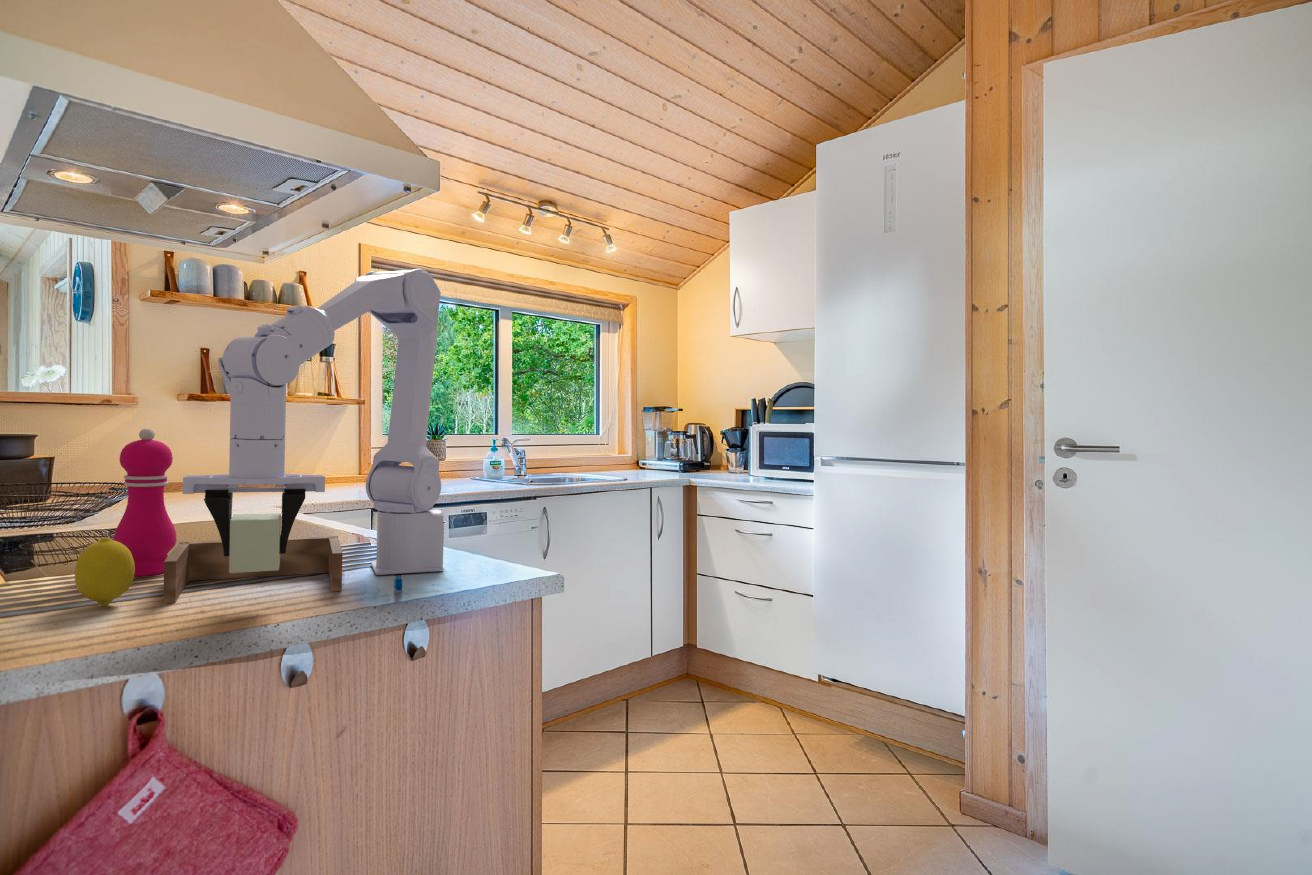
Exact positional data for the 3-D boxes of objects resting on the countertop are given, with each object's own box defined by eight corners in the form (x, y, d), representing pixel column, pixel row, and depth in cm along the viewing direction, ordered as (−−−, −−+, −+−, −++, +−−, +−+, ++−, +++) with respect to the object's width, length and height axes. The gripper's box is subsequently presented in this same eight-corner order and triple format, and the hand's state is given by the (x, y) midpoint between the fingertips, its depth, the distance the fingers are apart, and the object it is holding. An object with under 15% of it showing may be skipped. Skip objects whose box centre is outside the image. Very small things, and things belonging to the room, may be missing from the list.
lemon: (82, 615, 79) (83, 543, 79) (67, 605, 83) (68, 536, 82) (141, 605, 84) (142, 537, 83) (125, 596, 87) (126, 531, 87)
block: (279, 561, 88) (280, 513, 88) (278, 570, 84) (279, 519, 83) (232, 564, 86) (233, 514, 86) (229, 573, 81) (230, 520, 81)
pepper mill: (160, 563, 105) (162, 427, 104) (186, 570, 101) (188, 429, 100) (102, 572, 98) (104, 427, 98) (128, 580, 95) (130, 429, 94)
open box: (337, 570, 105) (337, 536, 105) (341, 590, 94) (342, 552, 93) (179, 579, 96) (179, 542, 96) (163, 603, 85) (164, 561, 85)
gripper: (179, 439, 77) (177, 563, 78) (326, 441, 84) (324, 556, 84) (188, 436, 84) (186, 551, 84) (324, 438, 90) (322, 545, 91)
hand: (255, 553), depth 85 cm, fingers closed on block, 5 cm apart
